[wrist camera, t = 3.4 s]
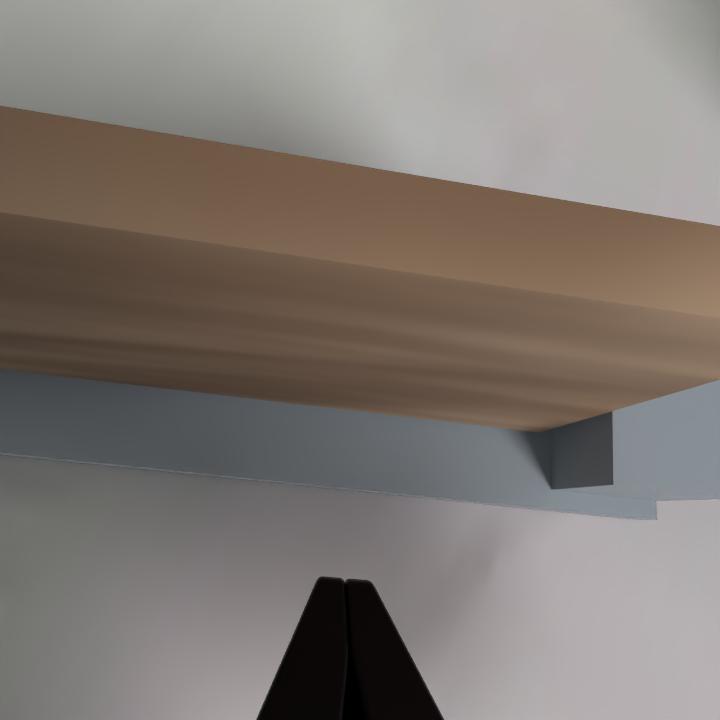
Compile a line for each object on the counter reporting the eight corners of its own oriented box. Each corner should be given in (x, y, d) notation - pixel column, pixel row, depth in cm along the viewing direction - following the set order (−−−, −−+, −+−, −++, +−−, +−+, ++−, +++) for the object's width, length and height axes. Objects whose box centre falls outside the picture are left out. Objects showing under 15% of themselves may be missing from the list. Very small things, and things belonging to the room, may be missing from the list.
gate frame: (635, 519, 17) (739, 521, 14) (-238, 430, 15) (-417, 401, 11) (631, 351, 19) (726, 309, 15) (-173, 241, 16) (-312, 154, 12)
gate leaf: (539, 440, 16) (861, 354, 7) (-89, 366, 14) (-649, 137, 5) (540, 380, 16) (847, 232, 8) (-70, 302, 15) (-563, -8, 6)
